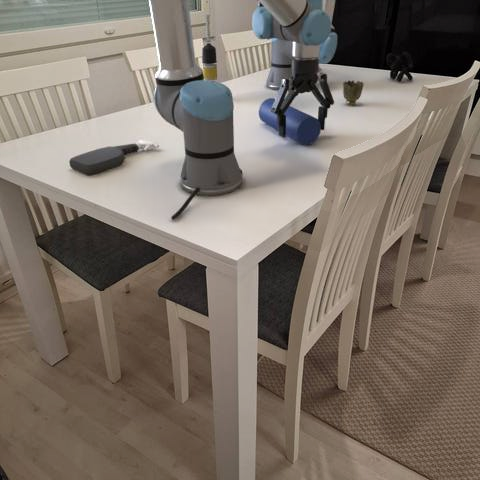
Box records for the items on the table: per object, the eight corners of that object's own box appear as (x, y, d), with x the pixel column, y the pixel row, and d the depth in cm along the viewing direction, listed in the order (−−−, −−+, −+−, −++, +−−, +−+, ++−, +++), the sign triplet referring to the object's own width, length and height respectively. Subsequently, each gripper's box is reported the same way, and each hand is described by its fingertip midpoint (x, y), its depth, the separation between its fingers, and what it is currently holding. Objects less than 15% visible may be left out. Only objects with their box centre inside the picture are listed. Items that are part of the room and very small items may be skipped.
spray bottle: (67, 168, 120) (139, 144, 136) (91, 178, 114) (163, 151, 130) (65, 157, 118) (137, 134, 134) (89, 167, 112) (162, 142, 128)
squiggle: (400, 92, 202) (376, 71, 205) (417, 76, 202) (392, 56, 205) (405, 81, 191) (380, 59, 194) (423, 64, 191) (397, 42, 194)
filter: (220, 99, 177) (217, 15, 161) (206, 100, 176) (202, 16, 160) (215, 96, 182) (212, 14, 166) (202, 97, 180) (197, 14, 164)
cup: (338, 105, 167) (340, 83, 162) (344, 100, 172) (346, 79, 168) (358, 107, 164) (360, 85, 159) (363, 103, 169) (366, 81, 165)
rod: (319, 142, 134) (322, 115, 129) (296, 147, 131) (297, 119, 126) (280, 121, 152) (280, 96, 148) (258, 124, 149) (258, 99, 145)
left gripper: (334, 51, 130) (329, 122, 142) (259, 60, 121) (259, 135, 133) (350, 55, 124) (343, 129, 136) (272, 64, 116) (271, 143, 127)
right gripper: (311, -56, 143) (306, 18, 154) (240, -55, 134) (241, 23, 145) (324, -57, 137) (319, 20, 148) (252, -56, 128) (252, 25, 139)
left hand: (301, 132), depth 134 cm, fingers open, 13 cm apart
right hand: (280, 21), depth 147 cm, fingers open, 13 cm apart
